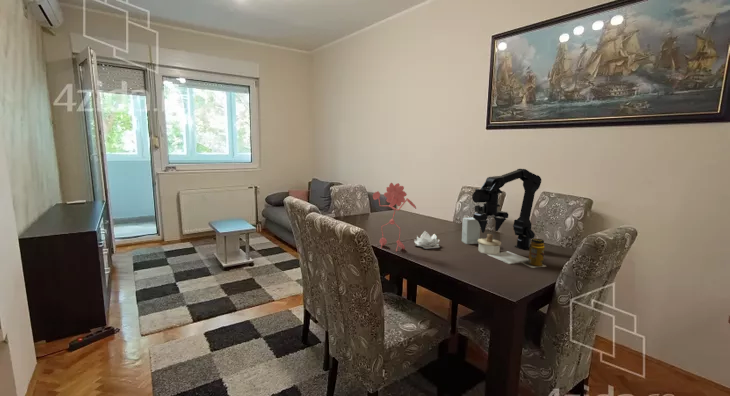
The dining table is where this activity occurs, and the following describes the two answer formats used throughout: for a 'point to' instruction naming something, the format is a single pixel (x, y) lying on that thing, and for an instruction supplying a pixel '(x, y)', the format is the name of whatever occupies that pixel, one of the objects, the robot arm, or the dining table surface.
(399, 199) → the figurine
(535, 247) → the condiment
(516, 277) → the dining table surface
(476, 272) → the dining table surface
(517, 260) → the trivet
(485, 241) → the lid
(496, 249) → the bowl
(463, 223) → the skincare box
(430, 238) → the lotus flower
